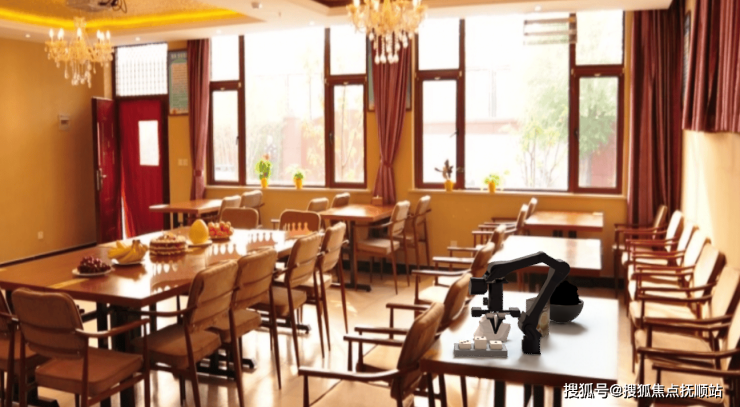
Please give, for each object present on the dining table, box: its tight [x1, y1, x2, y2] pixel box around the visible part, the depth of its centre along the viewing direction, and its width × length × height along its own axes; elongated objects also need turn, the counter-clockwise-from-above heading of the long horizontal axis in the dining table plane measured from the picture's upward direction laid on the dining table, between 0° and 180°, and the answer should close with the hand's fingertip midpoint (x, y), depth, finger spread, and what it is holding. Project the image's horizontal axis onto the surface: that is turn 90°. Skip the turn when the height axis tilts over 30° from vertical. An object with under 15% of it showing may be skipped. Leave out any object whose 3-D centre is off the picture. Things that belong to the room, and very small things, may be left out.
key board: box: [453, 342, 509, 358], centre depth 262 cm, size 20×9×2 cm, turn 86°
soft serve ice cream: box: [473, 314, 511, 343], centre depth 278 cm, size 12×15×14 cm
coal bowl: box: [541, 279, 585, 324], centre depth 304 cm, size 20×20×19 cm
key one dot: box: [490, 341, 503, 349], centre depth 262 cm, size 4×4×4 cm
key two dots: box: [473, 335, 487, 349], centre depth 262 cm, size 4×4×4 cm
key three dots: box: [458, 339, 472, 349], centre depth 263 cm, size 4×4×4 cm
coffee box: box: [525, 296, 551, 339], centre depth 283 cm, size 9×6×16 cm
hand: (495, 333), depth 261 cm, fingers closed
